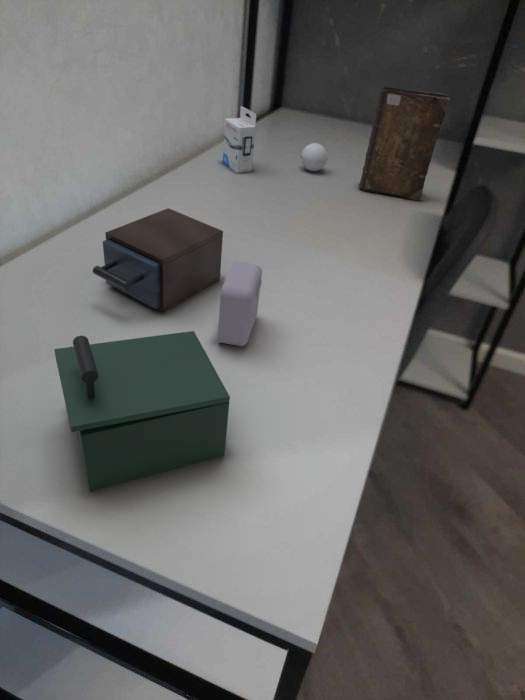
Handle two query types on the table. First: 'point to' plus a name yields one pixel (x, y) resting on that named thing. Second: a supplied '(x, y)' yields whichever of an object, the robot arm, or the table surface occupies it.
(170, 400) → the chest lid
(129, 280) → the drawer
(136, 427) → the chest
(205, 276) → the cabinet
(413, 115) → the book
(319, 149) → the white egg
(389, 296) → the table surface
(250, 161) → the ink box
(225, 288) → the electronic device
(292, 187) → the table surface
